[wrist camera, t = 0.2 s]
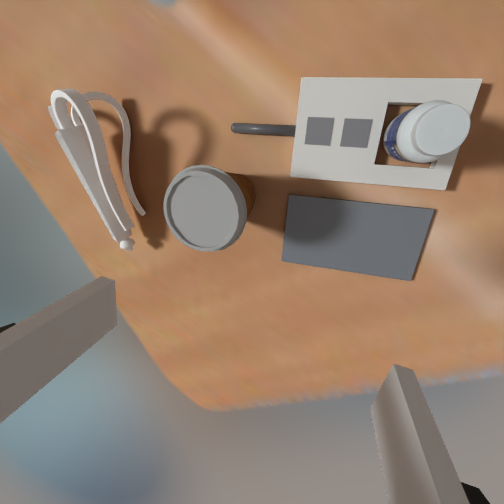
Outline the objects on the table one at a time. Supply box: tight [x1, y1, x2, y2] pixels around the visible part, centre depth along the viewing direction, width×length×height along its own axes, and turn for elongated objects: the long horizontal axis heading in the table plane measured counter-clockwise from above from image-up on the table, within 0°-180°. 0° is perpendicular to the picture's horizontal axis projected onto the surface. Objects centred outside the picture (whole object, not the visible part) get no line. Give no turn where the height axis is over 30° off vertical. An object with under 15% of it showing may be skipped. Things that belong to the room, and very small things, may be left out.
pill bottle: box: [383, 100, 470, 163], centre depth 26 cm, size 5×5×10 cm
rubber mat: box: [282, 194, 434, 281], centre depth 36 cm, size 10×18×1 cm, turn 86°
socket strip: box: [231, 77, 482, 190], centre depth 31 cm, size 27×11×2 cm, turn 86°
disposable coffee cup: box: [163, 165, 255, 251], centre depth 33 cm, size 10×10×12 cm
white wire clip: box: [48, 89, 146, 251], centre depth 39 cm, size 17×9×22 cm
